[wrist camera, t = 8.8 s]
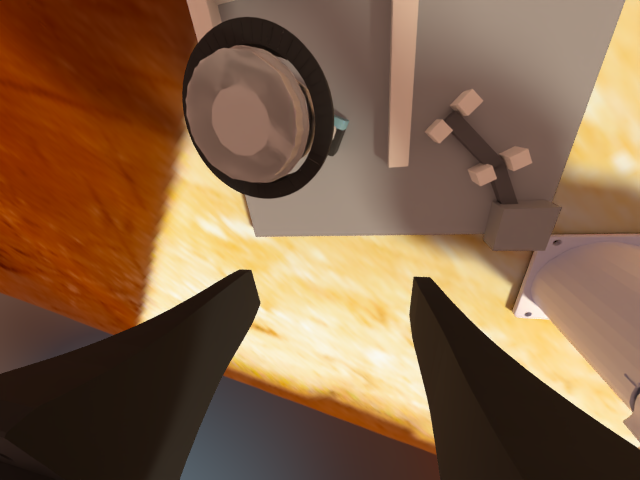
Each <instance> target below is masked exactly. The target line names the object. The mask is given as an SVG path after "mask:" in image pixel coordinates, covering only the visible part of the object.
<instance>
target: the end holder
mask: <svg viewBox="0 0 640 480" xmlns="http://www.w3.org/2000/svg"><path fill="white" fill-rule="evenodd" d="M231 1H234V0H187V4H188V8H189V11H190V15H191V18H192V22H193V26H194V29H195V33H196V37H197V40H198V42H199V41H200V40H201V38H202V37H203V36H204V35H205V34H206V33H207V32H208V31H210V30H211V29H212V28H213V27H215V26H217V25H218V24H220V23H222V22H221V17H220V13H219V9H218V5H219V4H223V3H227V2H231ZM418 5H419V0H391V41H390V84H389V126H388V167H389V168H392V167H405V166H408V163H409V147H410V131H411V116H412V100H413V84H414V68H415V52H416V37H417V21H418Z"/></svg>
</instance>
